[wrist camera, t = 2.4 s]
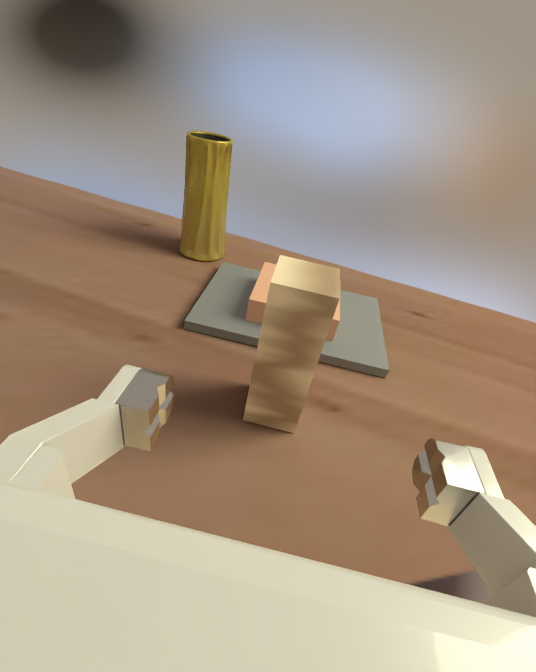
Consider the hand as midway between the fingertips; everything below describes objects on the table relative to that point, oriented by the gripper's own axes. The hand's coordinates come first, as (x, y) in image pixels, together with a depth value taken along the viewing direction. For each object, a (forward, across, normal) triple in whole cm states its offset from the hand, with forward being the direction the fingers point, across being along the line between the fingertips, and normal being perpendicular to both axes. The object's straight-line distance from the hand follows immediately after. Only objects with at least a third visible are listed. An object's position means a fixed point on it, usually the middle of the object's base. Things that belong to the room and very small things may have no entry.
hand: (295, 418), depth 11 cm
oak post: (+12, +1, +13) cm, 18 cm away
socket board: (+27, +1, +13) cm, 30 cm away
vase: (+37, +14, +12) cm, 42 cm away
